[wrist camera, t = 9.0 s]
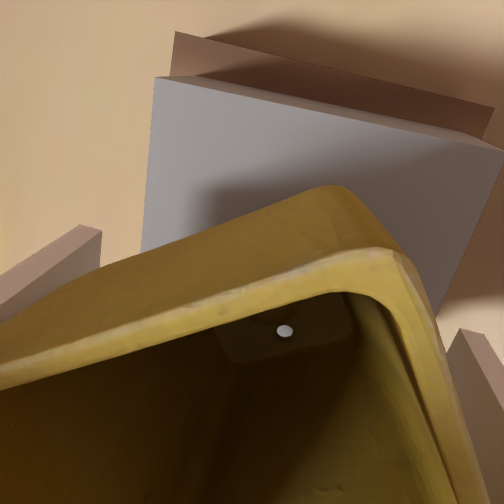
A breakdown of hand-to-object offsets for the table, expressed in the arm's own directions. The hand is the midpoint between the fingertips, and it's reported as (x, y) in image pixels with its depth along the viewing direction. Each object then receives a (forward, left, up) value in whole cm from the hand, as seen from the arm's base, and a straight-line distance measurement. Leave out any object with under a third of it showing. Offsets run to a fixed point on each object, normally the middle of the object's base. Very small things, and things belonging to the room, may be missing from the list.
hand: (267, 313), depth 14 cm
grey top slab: (0, 0, -8) cm, 8 cm away
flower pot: (0, 0, -2) cm, 2 cm away
